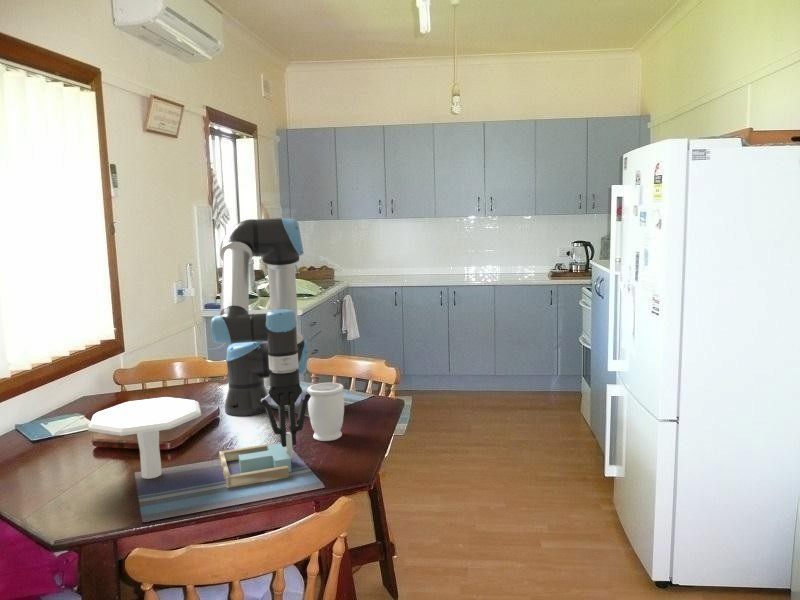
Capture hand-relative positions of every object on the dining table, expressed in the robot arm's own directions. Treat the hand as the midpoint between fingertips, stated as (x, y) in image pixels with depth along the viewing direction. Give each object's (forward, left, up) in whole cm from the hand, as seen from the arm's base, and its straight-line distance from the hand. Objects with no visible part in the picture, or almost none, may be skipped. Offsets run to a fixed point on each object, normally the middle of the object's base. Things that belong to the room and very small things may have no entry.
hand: (289, 457), depth 167 cm
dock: (0, -9, -1) cm, 9 cm away
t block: (0, -7, -2) cm, 7 cm away
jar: (-15, +14, -2) cm, 21 cm away
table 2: (-7, -34, -2) cm, 35 cm away
